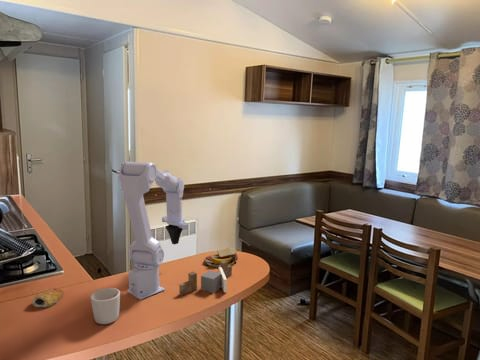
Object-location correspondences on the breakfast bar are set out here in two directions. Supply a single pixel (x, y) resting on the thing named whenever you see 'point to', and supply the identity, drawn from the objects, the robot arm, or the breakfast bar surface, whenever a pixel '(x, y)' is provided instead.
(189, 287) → the stepped wooden block
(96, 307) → the cup
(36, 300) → the pastry
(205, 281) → the grey cube
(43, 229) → the breakfast bar surface
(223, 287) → the door
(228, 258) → the toy sandwich meal
